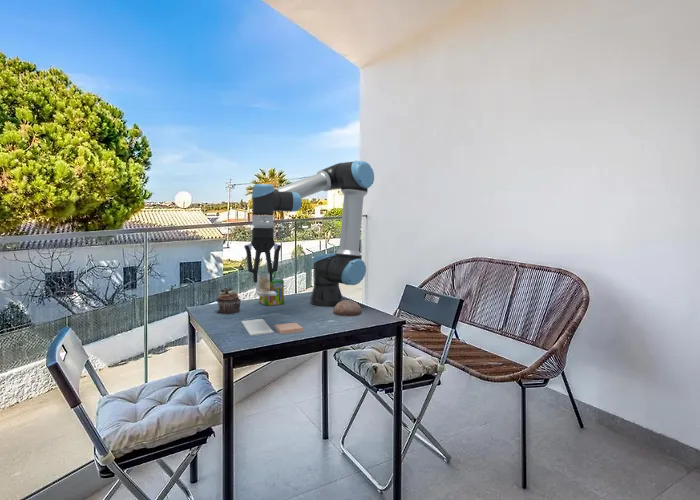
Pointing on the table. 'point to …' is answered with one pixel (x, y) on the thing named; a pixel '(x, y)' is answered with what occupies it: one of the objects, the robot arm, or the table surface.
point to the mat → (257, 327)
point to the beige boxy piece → (265, 288)
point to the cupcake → (228, 301)
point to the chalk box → (277, 287)
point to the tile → (288, 328)
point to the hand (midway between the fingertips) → (262, 290)
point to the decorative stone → (347, 308)
